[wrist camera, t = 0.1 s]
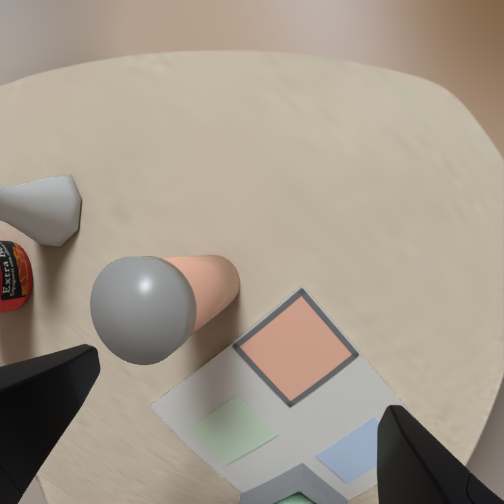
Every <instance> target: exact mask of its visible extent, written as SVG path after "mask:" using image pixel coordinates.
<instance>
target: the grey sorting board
mask: <svg viewBox="0 0 504 504" xmlns="http://www.w3.org/2000/svg"><path fill="white" fill-rule="evenodd" d="M389 405H401V406H403V407H404V408H405V409H406V410H407V411H408V412H409V413H410V414H411V412H410V411H409V410H408V409H407V408H406V406H405V405H404V404H403V403H402V402H401V400H400V399H399V398H398V397H397V396H396V394H395V393H394V392H393V391H392V390H391V388H390V387H389V386H388V385H387V384H386V382H385V381H384V380H383V379H382V378H381V377H380V375H379V374H378V373H377V372H376V371H375V369H374V368H373V367H372V366H371V365H370V363H369V362H368V361H367V360H366V359H365V358H364V356H363V355H362V354H361V353H360V352H359V351H358V349H357V348H356V347H355V346H354V345H353V343H352V342H351V341H350V340H349V339H348V338H347V336H346V335H345V334H344V333H343V332H342V331H341V329H340V328H339V327H338V326H337V325H336V324H335V322H334V321H333V320H332V319H331V318H330V317H329V315H328V314H327V313H326V312H325V311H324V310H323V308H322V307H321V306H320V305H319V304H318V303H317V302H316V300H315V299H314V298H313V297H312V296H311V295H310V293H309V292H308V291H307V290H306V289H305V288H304V287H303V285H301V286H300V287H298V288H297V289H296V290H295V291H294V292H293V293H291V294H290V295H289V296H288V297H287V298H286V299H284V300H283V301H282V302H281V303H280V304H279V305H277V306H276V307H275V308H274V309H273V310H271V311H270V312H269V313H268V314H267V315H265V316H264V317H263V318H262V319H261V320H259V321H258V322H257V323H256V324H255V325H253V326H252V327H251V328H250V329H249V330H247V331H246V332H245V333H244V334H242V335H241V336H240V337H239V338H237V339H236V340H235V341H234V342H232V343H231V344H230V345H229V346H227V347H226V348H225V349H224V350H222V351H221V352H220V353H219V354H217V355H216V356H215V357H214V358H212V359H211V360H210V361H208V362H207V363H206V364H205V365H203V366H202V367H201V368H199V369H198V370H197V371H196V372H194V373H193V374H192V375H190V376H189V377H188V378H186V379H185V380H184V381H182V382H181V383H180V384H178V385H177V386H176V387H174V388H173V389H172V390H170V391H169V392H168V393H166V394H165V395H164V396H162V397H161V398H160V399H158V400H157V401H156V402H154V403H153V404H152V405H151V406H150V408H151V409H152V410H153V411H154V412H155V413H156V414H157V415H158V416H159V417H160V419H161V420H162V421H163V422H164V423H165V424H166V425H167V426H168V427H169V428H170V429H171V430H172V431H173V432H174V433H175V434H176V435H177V436H178V437H179V438H180V439H181V440H182V441H183V442H184V443H185V444H186V445H187V446H188V447H189V448H190V449H192V450H193V451H194V452H195V453H196V454H197V455H198V456H199V457H200V458H201V459H202V460H203V461H205V462H206V463H207V464H208V465H209V466H210V467H211V468H212V469H214V470H215V471H216V472H217V473H218V474H219V475H221V476H222V477H223V478H224V479H225V480H227V481H228V482H229V483H230V484H231V485H233V486H234V487H235V488H236V489H238V490H239V491H240V492H241V493H242V494H241V498H240V502H239V504H273V503H276V502H278V501H280V500H282V499H284V498H286V497H288V496H290V495H292V494H295V493H303V494H304V495H305V496H307V497H308V498H309V499H311V500H312V501H313V502H315V503H316V504H348V503H347V501H349V500H351V499H353V498H355V497H356V496H358V495H360V494H362V493H363V492H365V491H367V490H368V489H370V488H372V487H373V486H375V485H377V428H378V424H379V422H380V420H381V418H382V416H383V414H384V412H385V410H386V408H387V406H389ZM411 415H412V414H411ZM412 416H413V415H412ZM413 417H414V416H413ZM414 418H415V417H414ZM415 419H416V418H415Z"/></svg>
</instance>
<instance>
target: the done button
mask: <svg viewBox="0 0 504 504" xmlns="http://www.w3.org/2000/svg"><path fill="white" fill-rule="evenodd" d="M273 504H316V503H315V502H313V501H312V500H311V499H309V498H308V497H307V496H305V495H304V494H303V493H295V494H292V495H290V496H288V497H286V498H284V499H282V500H280V501H278V502H276V503H273Z"/></svg>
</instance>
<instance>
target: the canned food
mask: <svg viewBox="0 0 504 504" xmlns="http://www.w3.org/2000/svg"><path fill="white" fill-rule="evenodd" d="M31 287H32V271H31V265H30V262H29V259H28V256H27V254H26V252H25V251H24V249H23V248H22V247H21V246H19V245H18V244H16V243H13V242H11V241H0V313H2V312H7V311H12V310H16V309H18V308H19V307H21V306H22V305H24V304H25V302H26V301H27V299H28V297H29V295H30V292H31Z"/></svg>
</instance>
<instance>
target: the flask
mask: <svg viewBox="0 0 504 504" xmlns="http://www.w3.org/2000/svg"><path fill="white" fill-rule="evenodd" d="M80 205H81V197H80V195H79V192H78V190H77V187H76V185H75V183H74V180H73V178H72V175H68V176H55V177H48V178H44V179H40V180H36V181H33V182H28V183H24V184H19V185H13V186H2V185H0V220H1V221H4V222H6V223H8V224H10V225H11V226H13V227H14V228H16V229H18V230H19V231H21V232H22V233H24V234H25V235H27V236H28V237H30V238H31V239H33V240H34V241H36V242H37V243H39V244H41V245H48V246H57V247H60V246H61V245H62V244H63V243H64V242H66V241H67V240H68V239H69V238H70V237H71V236H72V235H73V234H74V233H75V232H76V231H77V230H78V226H79V215H80Z"/></svg>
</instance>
